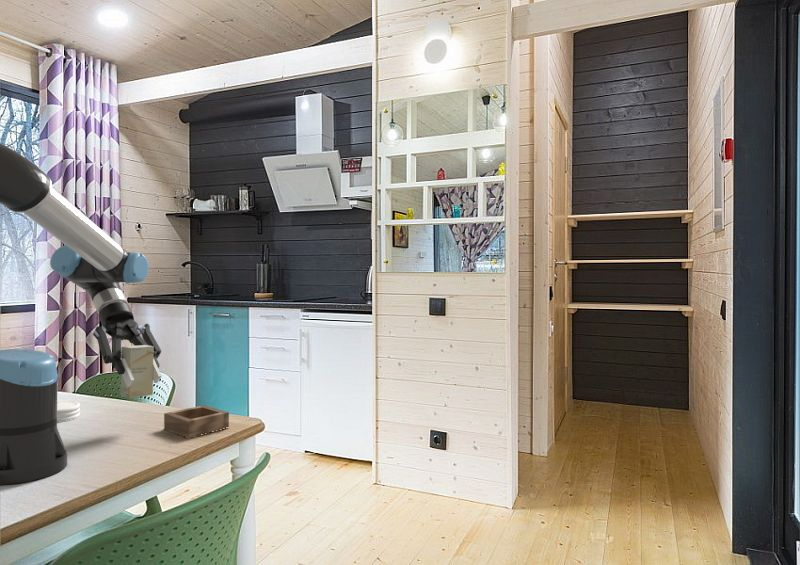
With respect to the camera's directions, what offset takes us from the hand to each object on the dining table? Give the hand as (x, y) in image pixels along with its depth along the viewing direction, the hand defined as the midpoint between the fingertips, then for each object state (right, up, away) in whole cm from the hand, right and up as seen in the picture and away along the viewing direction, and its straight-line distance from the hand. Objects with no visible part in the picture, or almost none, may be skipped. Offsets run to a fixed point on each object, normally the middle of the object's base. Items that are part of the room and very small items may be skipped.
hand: (144, 381), depth 138 cm
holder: (+11, -13, +4) cm, 17 cm away
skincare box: (-3, -4, +2) cm, 6 cm away
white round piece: (-28, -12, +12) cm, 33 cm away
